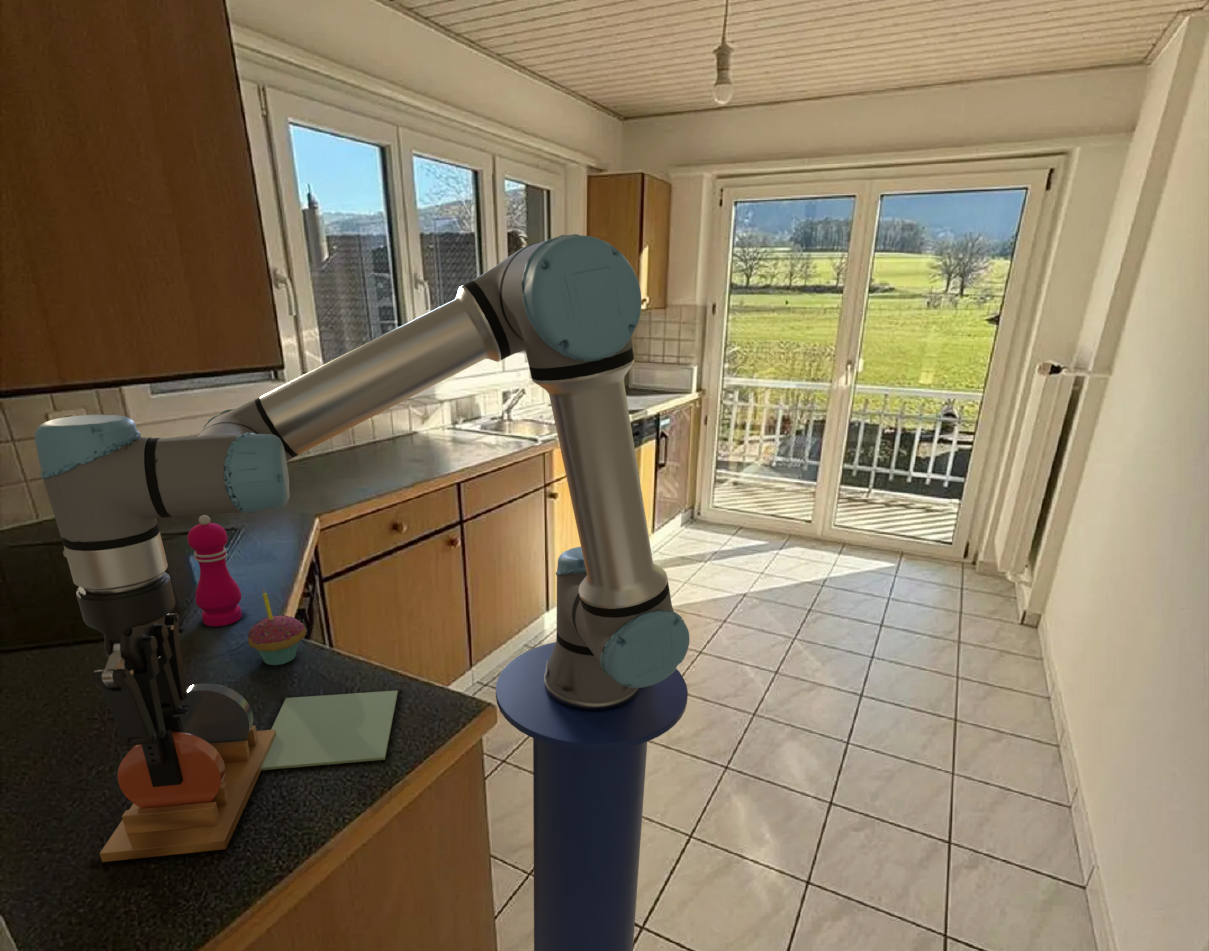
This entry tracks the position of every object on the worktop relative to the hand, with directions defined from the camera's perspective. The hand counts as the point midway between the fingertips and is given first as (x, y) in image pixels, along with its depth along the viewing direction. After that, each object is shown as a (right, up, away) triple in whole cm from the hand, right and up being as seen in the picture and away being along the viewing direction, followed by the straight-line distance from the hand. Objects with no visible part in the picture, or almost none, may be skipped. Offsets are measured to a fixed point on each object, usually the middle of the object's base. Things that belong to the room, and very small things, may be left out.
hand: (172, 775), depth 72 cm
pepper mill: (-23, +12, +49) cm, 55 cm away
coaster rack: (-1, -4, +7) cm, 9 cm away
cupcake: (-6, +7, +37) cm, 38 cm away
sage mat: (+9, 0, +20) cm, 22 cm away
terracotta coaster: (0, 0, 0) cm, 0 cm away
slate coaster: (-2, +3, +10) cm, 11 cm away
